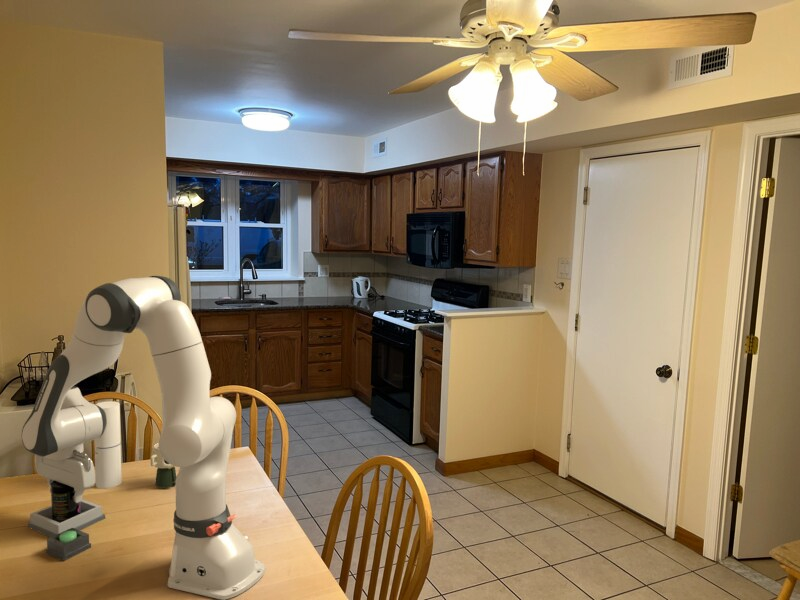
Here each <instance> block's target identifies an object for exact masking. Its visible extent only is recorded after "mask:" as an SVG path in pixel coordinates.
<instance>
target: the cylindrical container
mask: <svg viewBox="0 0 800 600" xmlns="http://www.w3.org/2000/svg"><path fill="white" fill-rule="evenodd" d="M95 404H96V405H98V406H99V407H101V408H102V409H103V410H104V411H105V413H106V419H107V424H106V428H105V431H104V433H103V434H102V436H101V437H100V438H97V439H95V440H93V442H94V471H95V487H96V488H98V489H112V488H115V487H118V486H119V485H121V484H122V481H123V480H122V479H123V478H122V447H121V446H122V444H121V441H122V440H121V438H122V437H121V405H120V402H118V401H103V402H98V403H95Z"/></svg>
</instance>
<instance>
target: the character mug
mask: <svg viewBox="0 0 800 600" xmlns="http://www.w3.org/2000/svg"><path fill="white" fill-rule="evenodd" d="M152 452H153V454H152V455H151V456H150V466H151V467H154V468H157V469H156V474H155V475H156V476H155V484H154V485H155V486H156V487H159V488H160V489H166V488H167V489H168V488H172V487H173V483H174V486H176V477H177V472H176V466H173V465H171V464H169V463H168V462H167V461H165V460H164V458H163V457H162V455H161V453H160V451H159V442H157V443H155V444H154V445H153V450H152Z"/></svg>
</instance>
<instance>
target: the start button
mask: <svg viewBox="0 0 800 600" xmlns="http://www.w3.org/2000/svg"><path fill="white" fill-rule="evenodd" d="M59 538H60V541H61V542H63V543H67V542H69V541H71V540H73V539H75V538H77V533H76V531H66V532H64V533H62V534H60V536H59Z"/></svg>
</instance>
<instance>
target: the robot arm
mask: <svg viewBox="0 0 800 600" xmlns="http://www.w3.org/2000/svg"><path fill="white" fill-rule="evenodd" d="M181 297H182V296H181V291H180V289H179V287H178V285H177V283H176V282H175V281H174V280H172V279H171V278H168V277H167V276H162V275H161V276H160V275H152V276H151V275H150V276H146V277H145V276H144V277H136V278H135V277H129V278H124V279H121V280H117V281H114V282H111V283H110V282H107V283H104V284H101V285H99V286H96V287H95V288H94V289H92V290H91V291H90V292H89V293H88V294H87V295H86V296H85V297H84V299H83V302H82V304H81V306H80V308H79V310H78V313H77V316H76V319H75V323H74V326H73V327H74V328H73V333H72V336H71V338H70V341H69V342H68V344H67V345H66V346H65V348H64V350H62V352H61V353H60V354H59V355H58V356H57V357H55V358H54V359H53V360H52V362H51V363H50V365H49V368H48V370H47V372H46V374H45V377H44V380H43V381H42V385H41V388H40V389H39V392H38V395H37V398H36V400H35V403H34V406H33V408H32V411H31V413H30V415H28V418H27V419H26V421H25V423H24V425H23V426H22V430H21V442H22V445H23V446H24V448H25V450H26V451H28V452H29V453H32V454H33V455H34V464H35V466H34V467H35V471H36V473H37V475H38V476H41V477H44V478H46V482H47V484H48V486H49V491H50V494H51V482H53V481H57V482H60V483H63V484H66V485H68V486H71V487H74V491H76V492H75V495H73V496H72V498H73V499H72V501H73V502H76V503H78V502H80V501H82V499H83V494H84V492H85V491H86V490H88V489H90V488H93V487H94V486H95V485H96V477H95V464H94V463H93V460H92V459H91V458H90V457H89V456H88V454H87V453H86V452H84V450H85V449H84V444H85V443H89V442H91V441H94V440H95V439H97V438H100V437H101V436H102V434H103V433H104V431H105V428H106V424H107V419H106V413H105V411H104V410H103V409H102V408H101V407H99V406H98V405H96V404H97V403H92V402H89V401H88V400H87V399H86V398H85V397H83V394H82V392H81V390H80V388H79V387H78V386H75V385H77V384H78V383H80V382H81V381H84V380H85V379H87V378H89V377H91V376H94V375H95V374H98V373H100V372H103V371H104V370H107V369H109V368H110V367H111V366H112V365H114V364H115V363H116V362H117V360H118V359H119V357H120V356H121V353H122V352H123V348H124V342H125V338H126V334H131V333H133V331H134V330H135V329H136V330H139V331H141V332H142V333H143V334H144V335H145V337H146V339H147V342H148V347H149V349H150V353H151V355H152V356H151V357H152V361H153V364H154V368H155V371H156V375H157V378H158V383H159V387H160V394H161V404H162V405H161V407H162V408H161V409H162V411H161V412H162V424H161V425H162V426H161V432H160V436H159V439H158V443H159V451H160V453H161V455H162V457H163V458H164V460H165V461H167V462H168V463H169V464H171V465H173V466H174V467H175V468H176V467H177V468H179V469H178V472H177V473H176V485H175V510H174V513H173V521H172V522H173V529H174V532H175V533H174V534H175V536H174V540H173V545H172V546H173V547H172V555H171V562H170V565H169V568H168V574H169V577H168V579H167V587H168V588H170V589H174V590H177V591H183V592H186V593H191V594H195V595H201V596H204V597H209V598H214V599H217V600H229V599H232V598H234V597H236V596H239V595H241V594H243V593H244V592H246V591H247V590H249V589H251V587H253V586H254V585H255V584H256V583H257V582H258V581H260V579H262V577H263V576H264V575H265V573H266V565H265V564H264V563H263V562H261V560H258V559H257V558H256V555H255V549H254V546H253V545H252V543H251V542H250V541H249V537H248V535H245V534H244V535H243V534H242V533H241V531H240V530H239V529H238V528H237V527H236V526H235V525H234V524H233V520H234V519H236V517H235V516H236V514H235V513H233V514H231V513H230V510H229V507H228V504H227V470H228V464H229V459H230V453H231V448H232V447H231V446H232V440H233V439H232V438H233V434H234V433H233V432H234V427H235V425H236V420H237V412H236V408H235V406H234V404H233V403H232V402H231V401H230V400H229V399H227V398H225V397H222V396H211V395H210V393H211V392H210V388H211V380H212V371H211V368H210V364H209V361H208V360H209V359H208V357H207V353H206V350H205V346H204V342H203V340H202V336H201V333H200V329H199V327H198V325H197V322H196V319H195V317H194V316H193V314H192V312H191V309H190V307H189V306H188V305H187V304H186V303H185V302H183V301H182V298H181Z"/></svg>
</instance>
